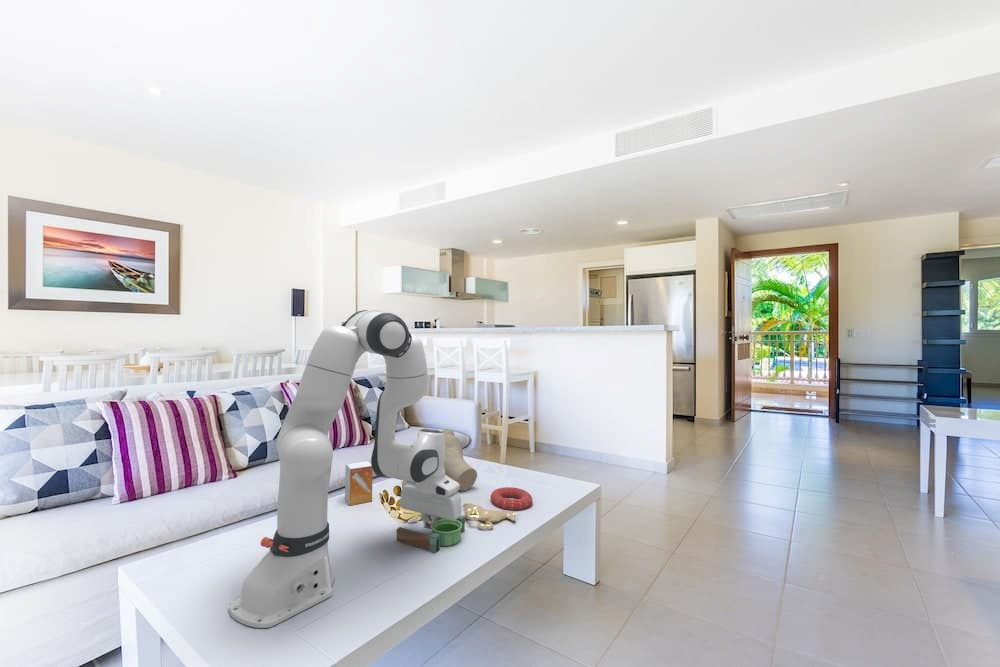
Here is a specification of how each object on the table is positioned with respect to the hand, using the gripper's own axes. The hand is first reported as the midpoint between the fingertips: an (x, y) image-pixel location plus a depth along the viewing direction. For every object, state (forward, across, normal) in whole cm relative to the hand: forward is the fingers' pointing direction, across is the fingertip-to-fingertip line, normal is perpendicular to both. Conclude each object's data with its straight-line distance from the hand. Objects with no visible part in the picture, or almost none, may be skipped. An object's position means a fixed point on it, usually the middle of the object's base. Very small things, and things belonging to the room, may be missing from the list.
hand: (429, 528), depth 135 cm
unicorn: (+3, +9, +19) cm, 21 cm away
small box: (+2, -37, +9) cm, 38 cm away
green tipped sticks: (+2, +1, 0) cm, 2 cm away
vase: (+2, -18, +39) cm, 44 cm away
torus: (+3, +11, +35) cm, 37 cm away
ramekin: (+2, +6, 0) cm, 7 cm away
